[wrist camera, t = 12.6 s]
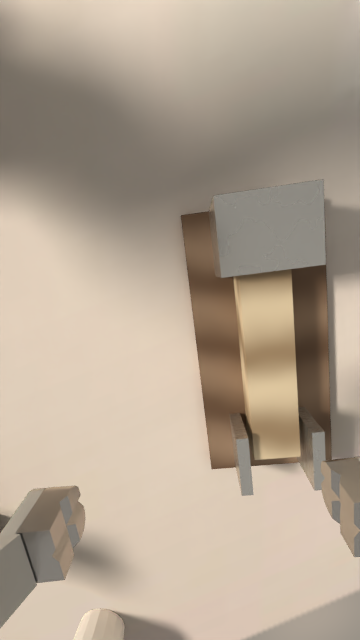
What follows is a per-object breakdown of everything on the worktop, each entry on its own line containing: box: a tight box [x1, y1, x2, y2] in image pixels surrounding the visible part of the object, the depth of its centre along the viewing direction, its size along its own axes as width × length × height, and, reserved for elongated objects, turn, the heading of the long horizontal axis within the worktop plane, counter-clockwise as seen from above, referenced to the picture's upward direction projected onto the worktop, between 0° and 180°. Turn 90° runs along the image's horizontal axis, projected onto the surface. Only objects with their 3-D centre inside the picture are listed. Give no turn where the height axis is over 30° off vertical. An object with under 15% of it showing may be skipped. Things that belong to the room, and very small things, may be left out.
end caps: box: [209, 179, 326, 496], centre depth 22 cm, size 24×7×5 cm, turn 7°
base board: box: [181, 209, 332, 469], centre depth 25 cm, size 25×12×1 cm, turn 7°
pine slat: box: [233, 269, 301, 460], centre depth 23 cm, size 20×4×3 cm, turn 7°
